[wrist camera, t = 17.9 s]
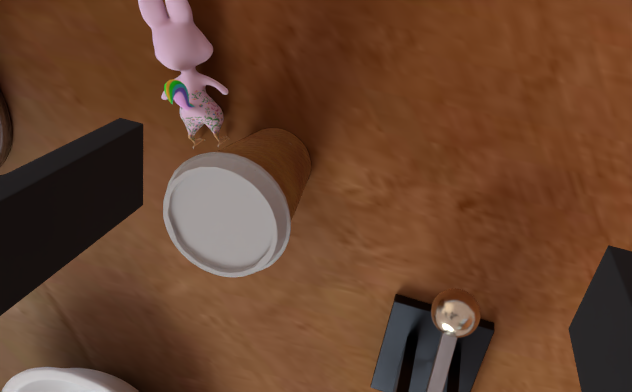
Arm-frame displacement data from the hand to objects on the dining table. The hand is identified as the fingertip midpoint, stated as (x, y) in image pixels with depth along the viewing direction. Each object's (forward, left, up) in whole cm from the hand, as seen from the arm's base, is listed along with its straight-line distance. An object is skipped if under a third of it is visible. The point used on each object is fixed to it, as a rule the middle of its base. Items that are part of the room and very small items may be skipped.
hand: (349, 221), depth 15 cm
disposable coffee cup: (-7, -15, -29) cm, 33 cm away
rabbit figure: (-17, -10, -29) cm, 35 cm away
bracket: (+14, -25, -29) cm, 41 cm away
